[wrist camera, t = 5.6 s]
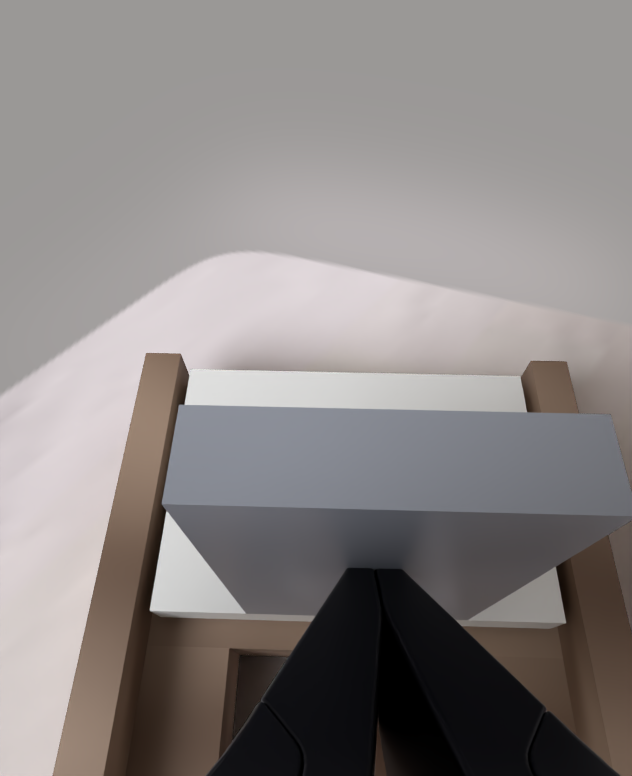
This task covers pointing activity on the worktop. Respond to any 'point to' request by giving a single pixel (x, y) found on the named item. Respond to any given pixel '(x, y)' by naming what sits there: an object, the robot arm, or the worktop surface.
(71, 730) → the board
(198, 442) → the lid
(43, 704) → the worktop surface
